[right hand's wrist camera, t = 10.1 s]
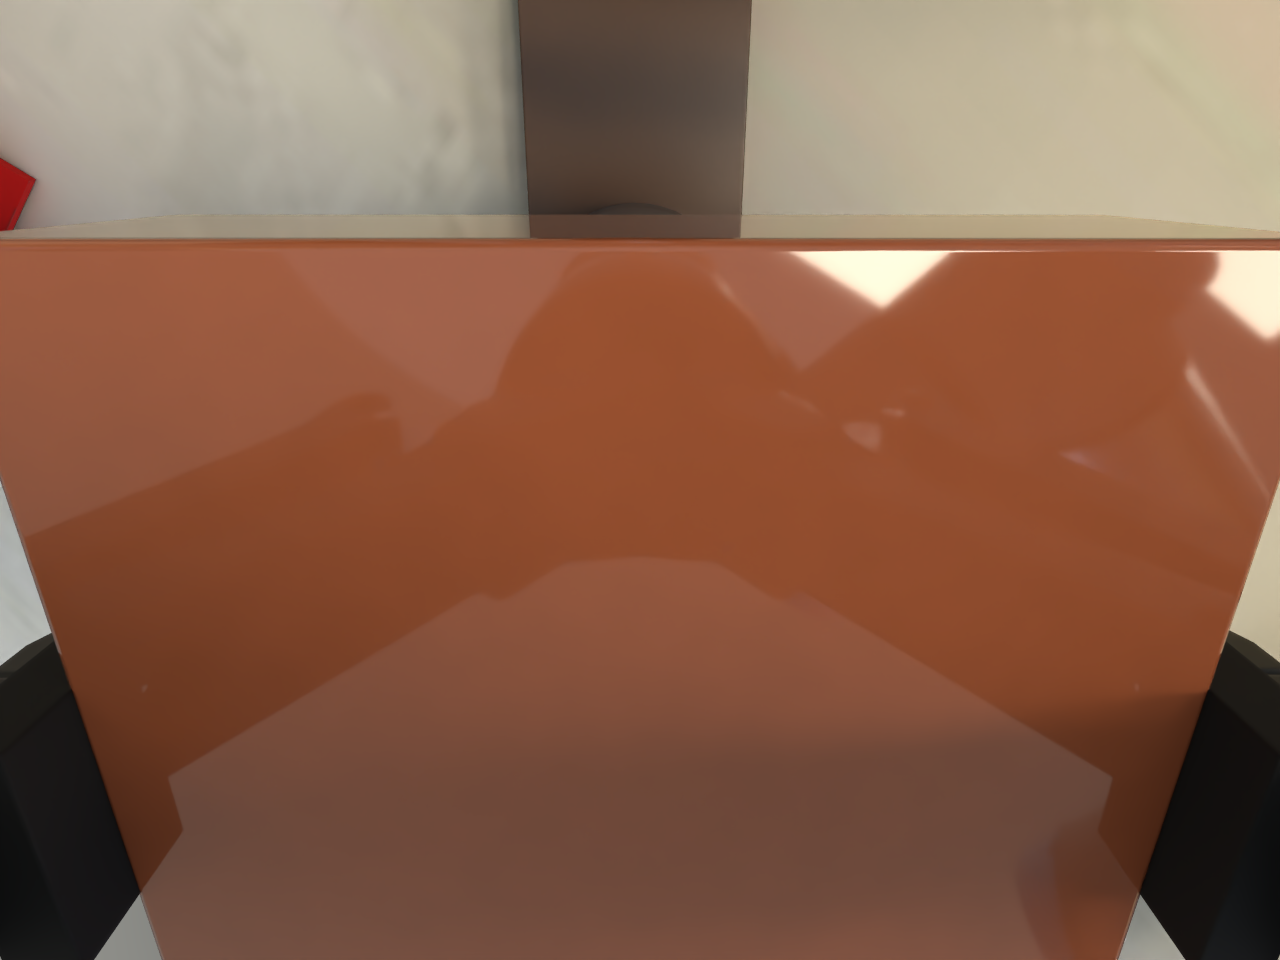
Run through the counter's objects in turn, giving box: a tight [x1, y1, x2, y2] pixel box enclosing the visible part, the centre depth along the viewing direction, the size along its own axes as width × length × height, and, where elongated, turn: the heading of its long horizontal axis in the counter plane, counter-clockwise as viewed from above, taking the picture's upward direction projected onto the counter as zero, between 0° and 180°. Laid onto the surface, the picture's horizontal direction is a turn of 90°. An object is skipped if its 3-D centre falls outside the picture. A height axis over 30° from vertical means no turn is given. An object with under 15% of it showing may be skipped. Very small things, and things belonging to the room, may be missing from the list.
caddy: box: [518, 0, 752, 215], centre depth 26 cm, size 30×9×14 cm, turn 0°
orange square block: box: [0, 215, 1280, 960], centre depth 10 cm, size 11×11×5 cm
